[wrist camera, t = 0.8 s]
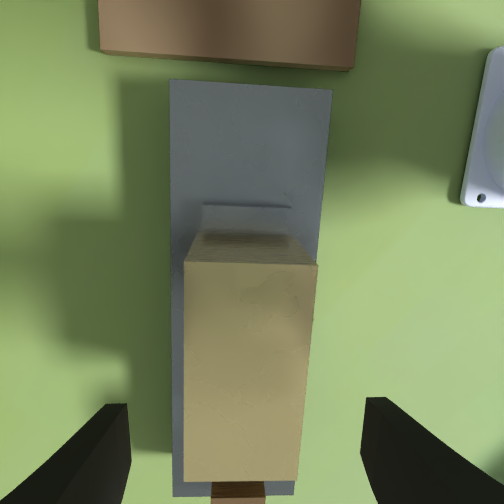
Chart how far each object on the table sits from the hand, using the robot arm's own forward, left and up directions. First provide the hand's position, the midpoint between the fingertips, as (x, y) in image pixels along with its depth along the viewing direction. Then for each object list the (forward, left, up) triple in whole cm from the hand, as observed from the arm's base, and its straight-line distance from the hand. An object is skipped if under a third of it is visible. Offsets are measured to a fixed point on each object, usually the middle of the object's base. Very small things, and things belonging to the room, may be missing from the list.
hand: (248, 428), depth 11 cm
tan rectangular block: (0, 0, -7) cm, 7 cm away
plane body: (0, 0, -10) cm, 10 cm away
